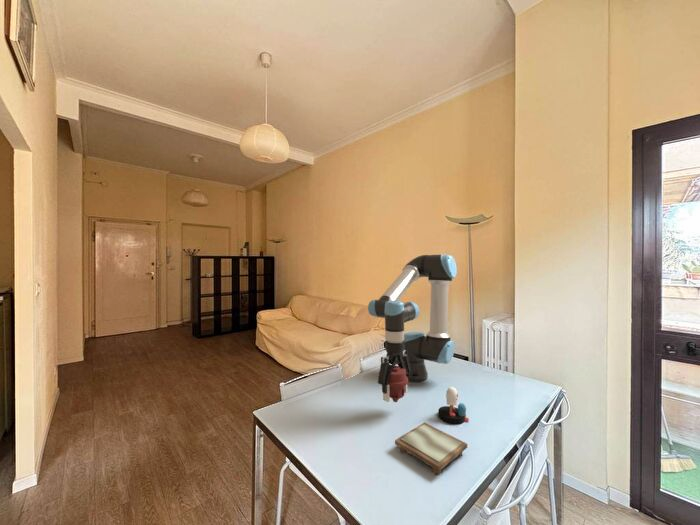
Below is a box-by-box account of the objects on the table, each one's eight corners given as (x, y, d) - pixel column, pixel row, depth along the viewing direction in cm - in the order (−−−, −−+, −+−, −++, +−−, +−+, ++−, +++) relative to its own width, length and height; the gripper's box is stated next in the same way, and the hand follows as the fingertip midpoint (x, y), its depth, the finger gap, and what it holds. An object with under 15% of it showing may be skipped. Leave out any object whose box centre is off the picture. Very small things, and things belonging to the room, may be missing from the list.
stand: (424, 431, 103) (424, 421, 103) (467, 453, 91) (467, 442, 91) (394, 450, 93) (395, 439, 93) (438, 478, 80) (438, 465, 80)
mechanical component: (408, 393, 118) (408, 405, 108) (384, 391, 120) (381, 403, 110) (407, 363, 118) (407, 373, 108) (383, 362, 120) (381, 371, 110)
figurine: (469, 427, 105) (469, 395, 105) (437, 422, 109) (437, 390, 109) (468, 415, 114) (468, 384, 114) (439, 410, 118) (439, 380, 118)
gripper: (405, 333, 124) (406, 384, 124) (367, 344, 109) (368, 402, 110) (419, 336, 118) (420, 390, 119) (381, 348, 104) (382, 410, 104)
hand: (395, 396), depth 114 cm, fingers closed on mechanical component, 10 cm apart
